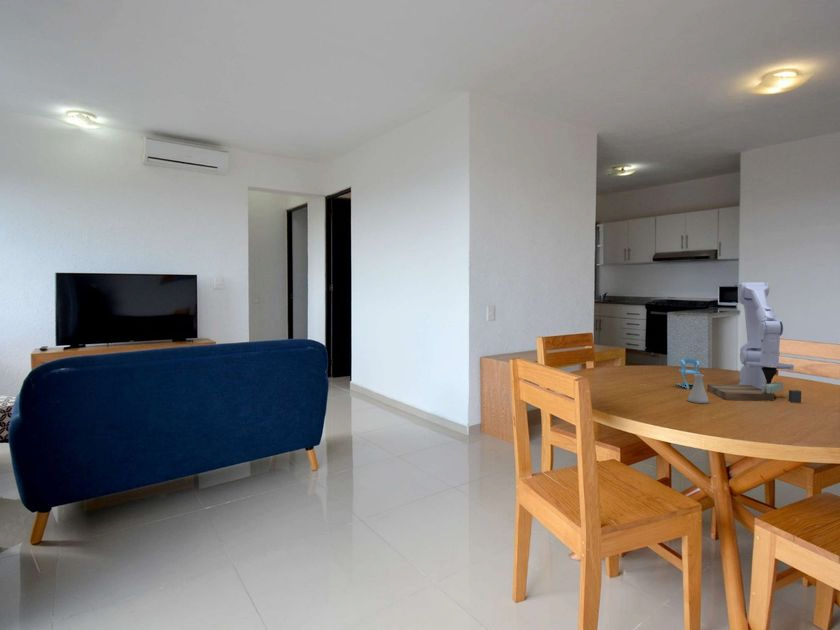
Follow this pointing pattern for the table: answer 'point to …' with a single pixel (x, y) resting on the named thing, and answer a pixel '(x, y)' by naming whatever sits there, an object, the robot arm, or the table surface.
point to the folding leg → (772, 387)
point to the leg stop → (794, 396)
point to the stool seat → (740, 392)
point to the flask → (698, 391)
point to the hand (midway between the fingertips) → (768, 387)
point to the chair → (684, 371)
